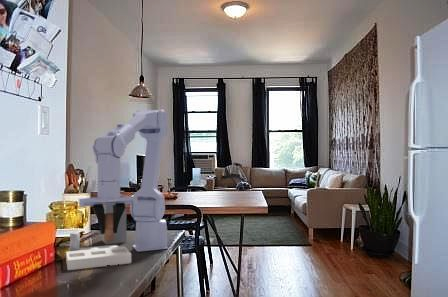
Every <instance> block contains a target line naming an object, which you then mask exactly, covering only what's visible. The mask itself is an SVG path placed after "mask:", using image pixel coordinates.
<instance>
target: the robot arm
mask: <svg viewBox="0 0 448 297" xmlns="http://www.w3.org/2000/svg"><path fill="white" fill-rule="evenodd" d="M168 126H169V118H168V114H167V112H166V110H165V109H162V108H161V109H151V110H149V109H148V110H141V109H138V110H135V111H134V112H133V113H132V118H131V119H129V121H128V122H127V123H125V122H118V123H117V124H116V127H115V128H113V129H111V130H109V131H108V132H107V134H106V135H100V136H98V137H97V138H95V140H94V142H93V145H92V151H93V155H94V156H95V163H96V164H97V197H87V198H86V197H85V198H79V199H78V203H79V205H78V207H80V208H84V207H92V210H93V211H94V214H95V216H96V218H97V223H98V226H99V234H101V235H102V234H104V210H105V209H104V206H103V205H113V213H114V233H117V229H118V225H119V221H120V219H121V216H122V214H123V212H124V210H125V204H126V205H130V206H129V212H130V215H131V217H132V219H133V221H135V244H132V248H133V249H134V250H135V251H136V252H138V253H139V252H148V251H158V250H168V226H167V221H166V219H163V216H165V211H166V205H165V204H166V203H165V201H166V200H165V198H166V197H165V195H164V194H163V193H162V192H161V191H159V190H158V184H159V177H160V166H161V160H162V150H163V140H164V138H166V137H167V135H168V134H167V133H168ZM136 133H138V134H139V135H140V137H141V138H143V139H145V140H146V148H145V155H144V163H143V170H142V180H141V186H140V189H139V190H137V191H136V192H134V193H133V196H132V195H131V196H130V195H129V196H124V197H120V194H121V157H123V156H124V154H125V150H126V148H127V146H128V145H129V144H130V143H131V142H133V140H135V136H136ZM102 202H119V203H102Z"/></svg>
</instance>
